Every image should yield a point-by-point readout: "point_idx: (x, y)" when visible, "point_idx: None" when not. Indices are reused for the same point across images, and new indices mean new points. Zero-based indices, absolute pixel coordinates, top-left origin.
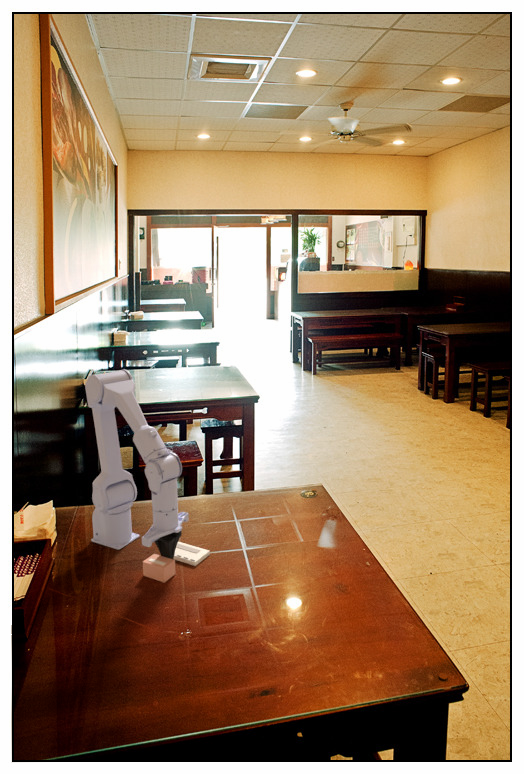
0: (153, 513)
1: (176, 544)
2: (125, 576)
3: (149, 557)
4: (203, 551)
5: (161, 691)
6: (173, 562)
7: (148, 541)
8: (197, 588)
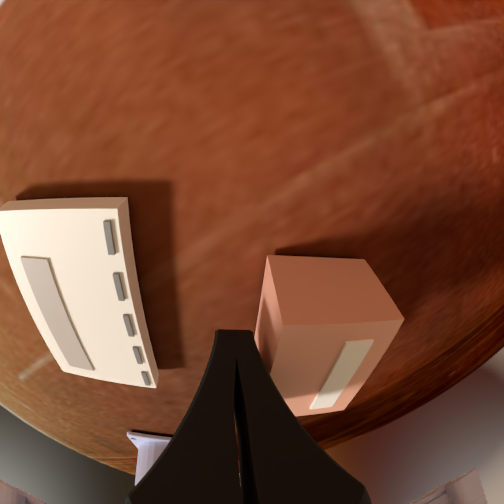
0: None
1: (189, 428)
2: None
3: (301, 414)
4: (16, 236)
5: None
6: (299, 316)
7: (483, 497)
8: (353, 53)
